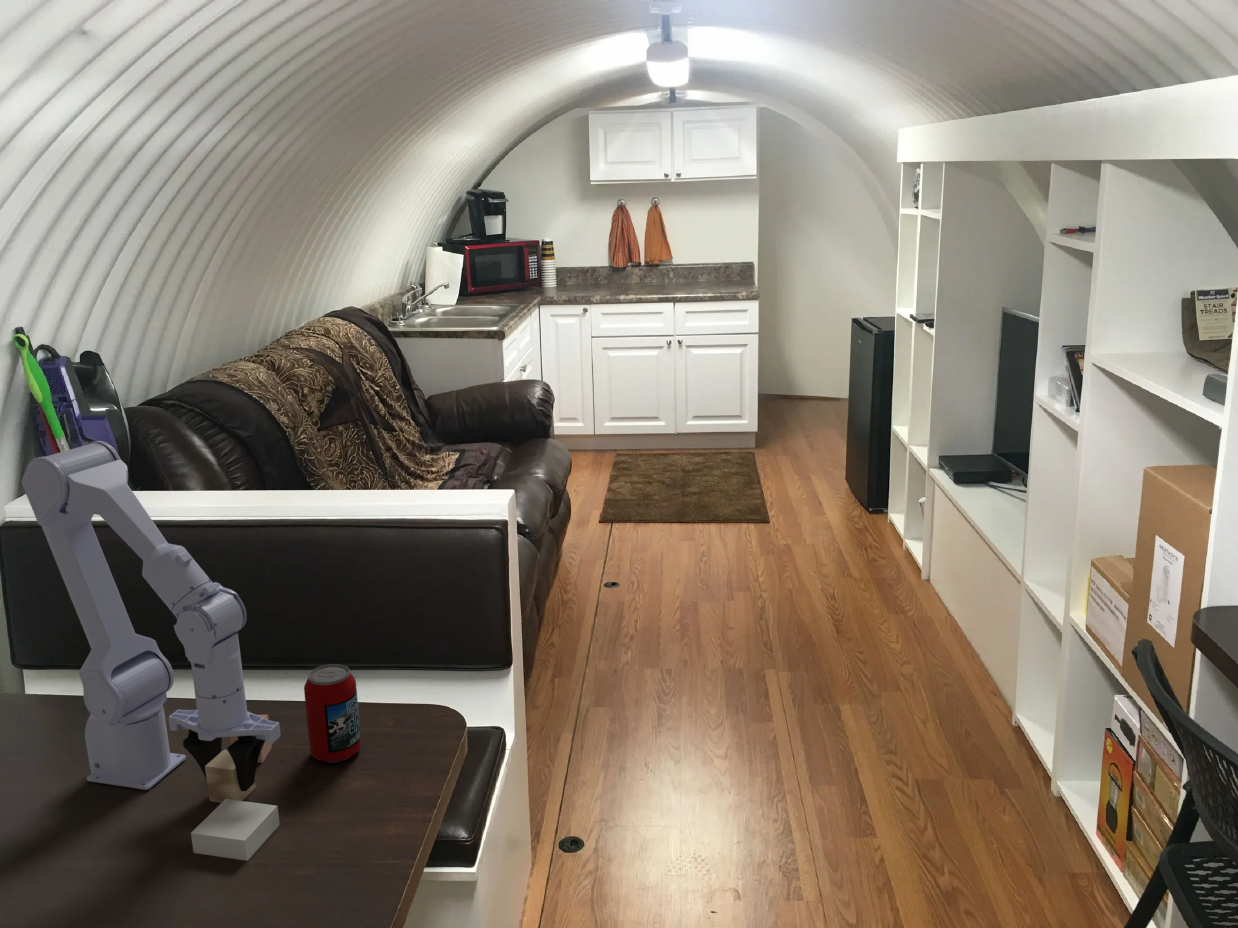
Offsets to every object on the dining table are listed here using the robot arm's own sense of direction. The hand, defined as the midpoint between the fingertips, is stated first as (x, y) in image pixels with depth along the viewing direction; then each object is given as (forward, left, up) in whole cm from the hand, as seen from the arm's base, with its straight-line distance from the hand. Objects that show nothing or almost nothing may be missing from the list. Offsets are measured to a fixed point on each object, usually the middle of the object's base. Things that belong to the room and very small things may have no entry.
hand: (231, 784), depth 132 cm
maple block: (0, 0, -1) cm, 1 cm away
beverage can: (+8, +12, -2) cm, 15 cm away
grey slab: (+6, -8, -2) cm, 10 cm away
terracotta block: (-3, +9, -2) cm, 10 cm away
